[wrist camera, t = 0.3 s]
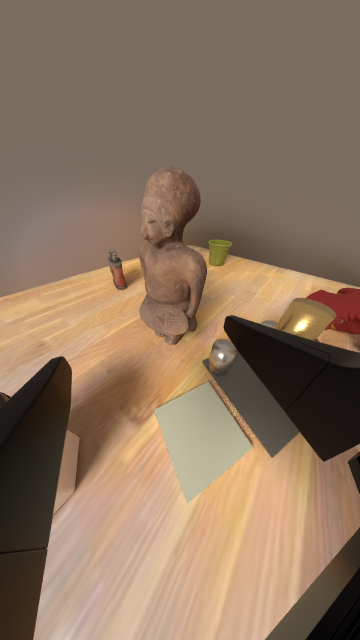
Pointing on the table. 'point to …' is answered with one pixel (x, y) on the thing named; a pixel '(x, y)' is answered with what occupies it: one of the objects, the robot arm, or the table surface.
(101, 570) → the table surface
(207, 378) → the table surface
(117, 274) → the lighter
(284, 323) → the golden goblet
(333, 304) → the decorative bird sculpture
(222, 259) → the plant pot
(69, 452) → the jar
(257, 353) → the robot arm
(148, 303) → the clay figurine
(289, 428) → the mat
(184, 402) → the tile
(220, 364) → the spacers
